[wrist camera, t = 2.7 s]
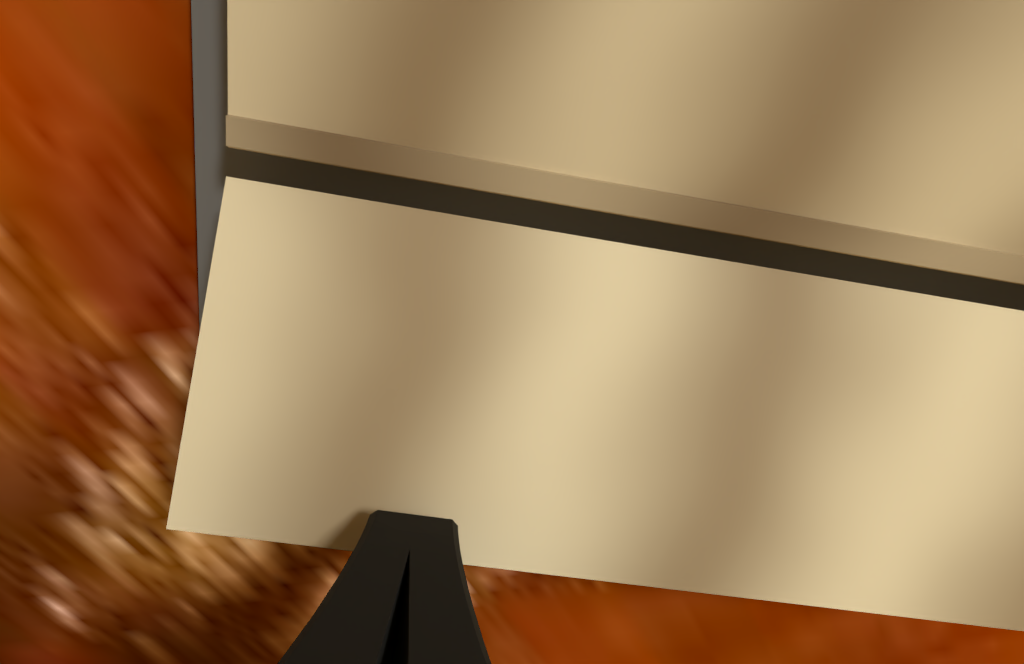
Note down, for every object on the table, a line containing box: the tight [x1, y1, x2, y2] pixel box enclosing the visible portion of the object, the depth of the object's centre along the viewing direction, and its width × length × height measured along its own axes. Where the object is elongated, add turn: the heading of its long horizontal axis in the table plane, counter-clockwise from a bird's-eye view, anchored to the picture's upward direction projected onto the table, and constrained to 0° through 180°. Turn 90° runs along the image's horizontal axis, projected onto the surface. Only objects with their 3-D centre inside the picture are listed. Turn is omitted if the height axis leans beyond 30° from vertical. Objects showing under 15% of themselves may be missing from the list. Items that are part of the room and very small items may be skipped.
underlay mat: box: [191, 0, 1024, 327], centre depth 14 cm, size 20×16×1 cm
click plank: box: [166, 176, 1024, 631], centre depth 13 cm, size 18×6×1 cm, turn 80°
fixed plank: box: [226, 0, 1024, 285], centre depth 12 cm, size 18×6×1 cm, turn 80°
